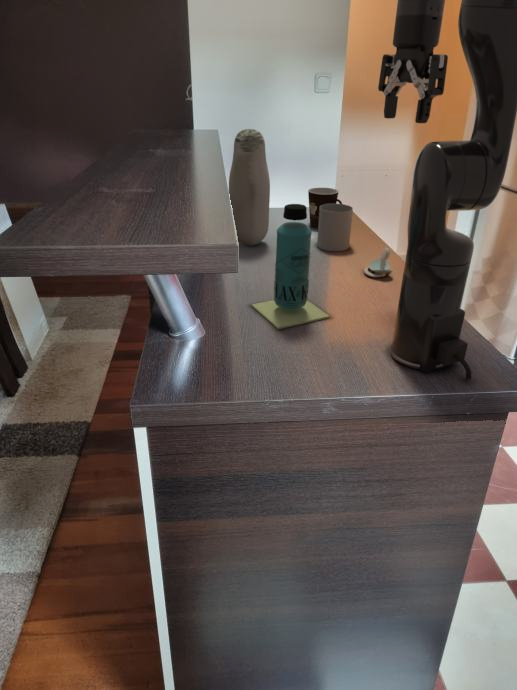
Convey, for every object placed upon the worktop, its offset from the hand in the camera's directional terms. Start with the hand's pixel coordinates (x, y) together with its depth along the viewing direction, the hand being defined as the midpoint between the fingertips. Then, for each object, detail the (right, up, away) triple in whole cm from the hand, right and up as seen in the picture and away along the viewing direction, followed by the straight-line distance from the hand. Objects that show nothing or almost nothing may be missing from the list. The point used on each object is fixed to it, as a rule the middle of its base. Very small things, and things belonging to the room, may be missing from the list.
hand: (404, 120), depth 93 cm
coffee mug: (-8, -6, +57) cm, 58 cm away
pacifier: (+1, -25, +24) cm, 35 cm away
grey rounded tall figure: (-29, -14, +43) cm, 53 cm away
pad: (-20, -34, +6) cm, 40 cm away
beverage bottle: (-20, -34, +6) cm, 40 cm away
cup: (-7, -15, +42) cm, 45 cm away
